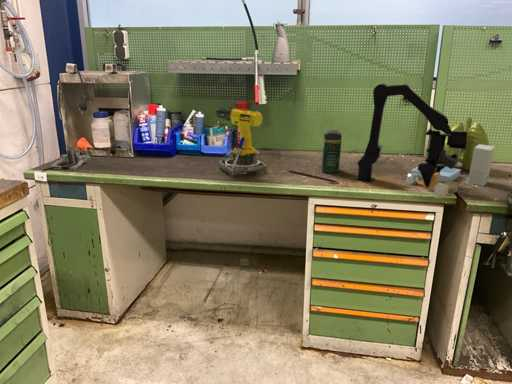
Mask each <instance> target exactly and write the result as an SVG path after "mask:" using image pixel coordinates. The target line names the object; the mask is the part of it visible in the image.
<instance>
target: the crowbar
mask: <svg viewBox="0 0 512 384" xmlns="http://www.w3.org/2000/svg"><path fill="white" fill-rule="evenodd" d="M287 171H288V172H289V173H290V174H291V173H292V174H296V175H300V176H305V177H309V178H313V179H317V180H320V181H321V180H322V181H326V182H328V183H329V184H330V185H338V184H339V181H338V180H335V179H331V178H325V177H321V176H317V175H314V174H313V175H312V174H308V173H304V172H299V171H295V170H292V169H289V168H287Z"/></svg>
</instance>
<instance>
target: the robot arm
mask: <svg viewBox="0 0 512 384" xmlns="http://www.w3.org/2000/svg"><path fill="white" fill-rule="evenodd" d="M372 96H373V112H372V113H373V114H372V119H371V128H370V133H369V140H368V143H367V145H366V147H365V151H364V154H363V155H362V157H360V159H359V160H357V165H358V169H357V171H358V173H357V176H356V177H354V180H356V181H361V182H366V183H367V182H368V183H369V182H372V181H373V180H375V177H373V167H374V166H373V164H375V163H376V162H377V161H378V159H380V157H382V149H383V148H384V147H383V145H380V137H381V136H380V135H381V130H382V123H383V117H384V111H385V107H386V104H387V102H388V99H389V97H393V96H403V97H404V98H405V99H406V100H407V101H408V102H409V103H411V105H412V106H414V107H415V108H416V109H417V110H418V111H419V112H421V114H423V115H424V117H425V119H426V120H427V121H428V123H429V124H430V126H431V127H432V128H433V129H434V130H433V129H432V128H431V127H430V128H429V129H428V130H427V131H425V134H424V135H426V136H429V139H428V148H427V149H426V152H427V155H426V158H425V159H424V161H423V162H422V163H419V164H418V165H417V167H418V170H419V171H420V173H421V175H422V177H423V179H422V180H423V182H424V183H425V186H426V187H429V185H430V182H431V179H432V176H433V174H435V173H436V172H438V173H440V172H441V170H442V169H443V168H445V167H446V166H447V167H448V168H450V169H453V168H455V167H457V164H458V163H459V162H458V161H459V159H458V155H456V154H453V155H451V156H450V155H448V154H446V150H445V149H444V146H445V140H446V136H448V138H447V145H448V146H449V148H457V149H465V148H466V144H467V131H465V130H464V131H452V130H451V128H452V127H450V125H449V119H448V117H447V115H446V114H445V113H443V112H441V111H440V110H438V109H436V108H434V107H432V106H431V105H430V104H429V103H428V102H426V100H425V99H423V98H422V97H421V96H420V95H419V94H418V93H416V92H415V91H414V90H413V89H412V88H411V86H410V85H408V84H406V83H405V84H395V85H388V84H386V83H379V84H378V85H376V86H375V87H374V88H373V95H372ZM441 132H442V133H441ZM444 133H445V134H444ZM443 164H444V165H445V166H444V165H443Z"/></svg>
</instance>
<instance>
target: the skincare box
mask: <svg viewBox="0 0 512 384" xmlns="http://www.w3.org/2000/svg"><path fill="white" fill-rule="evenodd" d="M495 149H496V146H495V145H490V144H489V145H481V144H479V145H478V146H476V147H475V148H474V153H473V158H472V163H471V169H470V170H469V174H468V178H467V179H468V180H467V184H470V185H475V186H481V187H485V186H486V184H487V183H488V182H489V177H490V172H491V168H492V163H493V158H494V154H495Z"/></svg>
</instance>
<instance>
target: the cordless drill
mask: <svg viewBox="0 0 512 384" xmlns="http://www.w3.org/2000/svg"><path fill="white" fill-rule="evenodd" d="M213 113H214V115H215V116H216V117H217V118H219V119H223V120H224V119H225V121H228V122H231V124H232V125H233V126H235V128H234V130H235V131H236V132H238V133H239V135H240V140H239V143H238V145H237V146H235V147H234V149H233V151H232V158H229V159H221V160H219V161H218V165H219V169H220V170H224V172H225V173H226V174H227V175H231V174H232V175H233V177H235V176H239V175H242V174H245V173H246V174H248V173H249V172H250V173H251V172H253V171H254V172H256V171H257V172H258V171H259V172H260V171H262V172H263V171H264V172H265V171H267V167H268V166H267V165H266V164H265V163H264V162H262V161H260V160H258V159H257V154H259V153H260V152H259V151H258V150H257V149H256V148H255V147H253V137H252V132H251V126H252V127H260V126H261V125H262V123H263V117H264V116H263V114H262V113H261V112H260V111H259V110H257V111H254V110H250V109H245V108H242V109H241V108H237V107H235V108H232V107H230V106H229V107H226V108H223V107H218V108H215V110H213Z"/></svg>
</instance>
